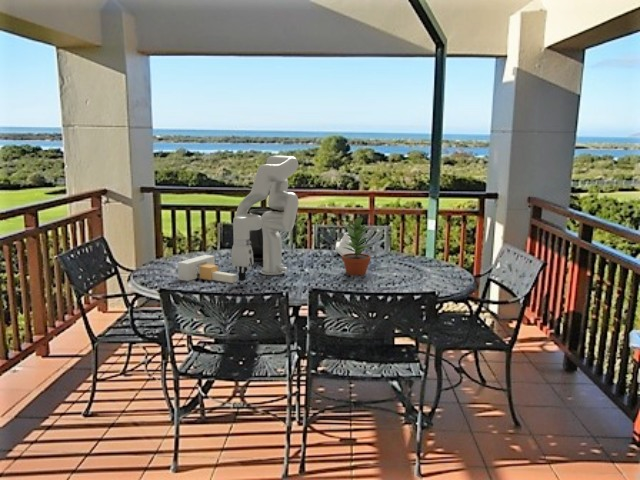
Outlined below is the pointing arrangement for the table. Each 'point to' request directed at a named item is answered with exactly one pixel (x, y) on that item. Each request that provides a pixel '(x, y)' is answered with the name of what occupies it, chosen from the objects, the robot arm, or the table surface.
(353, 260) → the potted plant
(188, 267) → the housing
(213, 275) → the plug
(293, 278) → the table surface
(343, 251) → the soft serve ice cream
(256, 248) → the amphora vase
